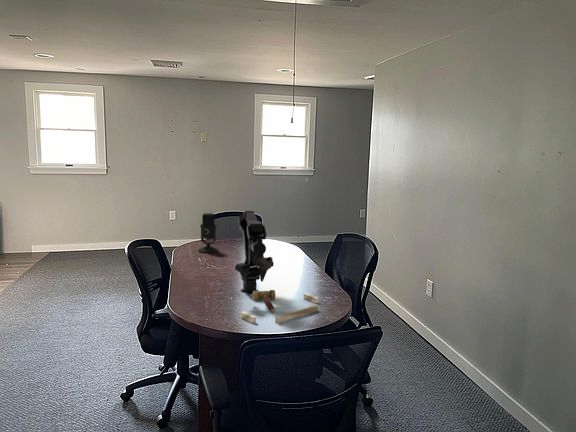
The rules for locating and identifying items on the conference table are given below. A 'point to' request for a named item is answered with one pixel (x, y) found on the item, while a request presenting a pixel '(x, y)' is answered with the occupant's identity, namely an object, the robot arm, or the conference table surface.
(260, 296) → the gavel
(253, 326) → the conference table surface
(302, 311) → the wooden bars
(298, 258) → the conference table surface
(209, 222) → the microphone
